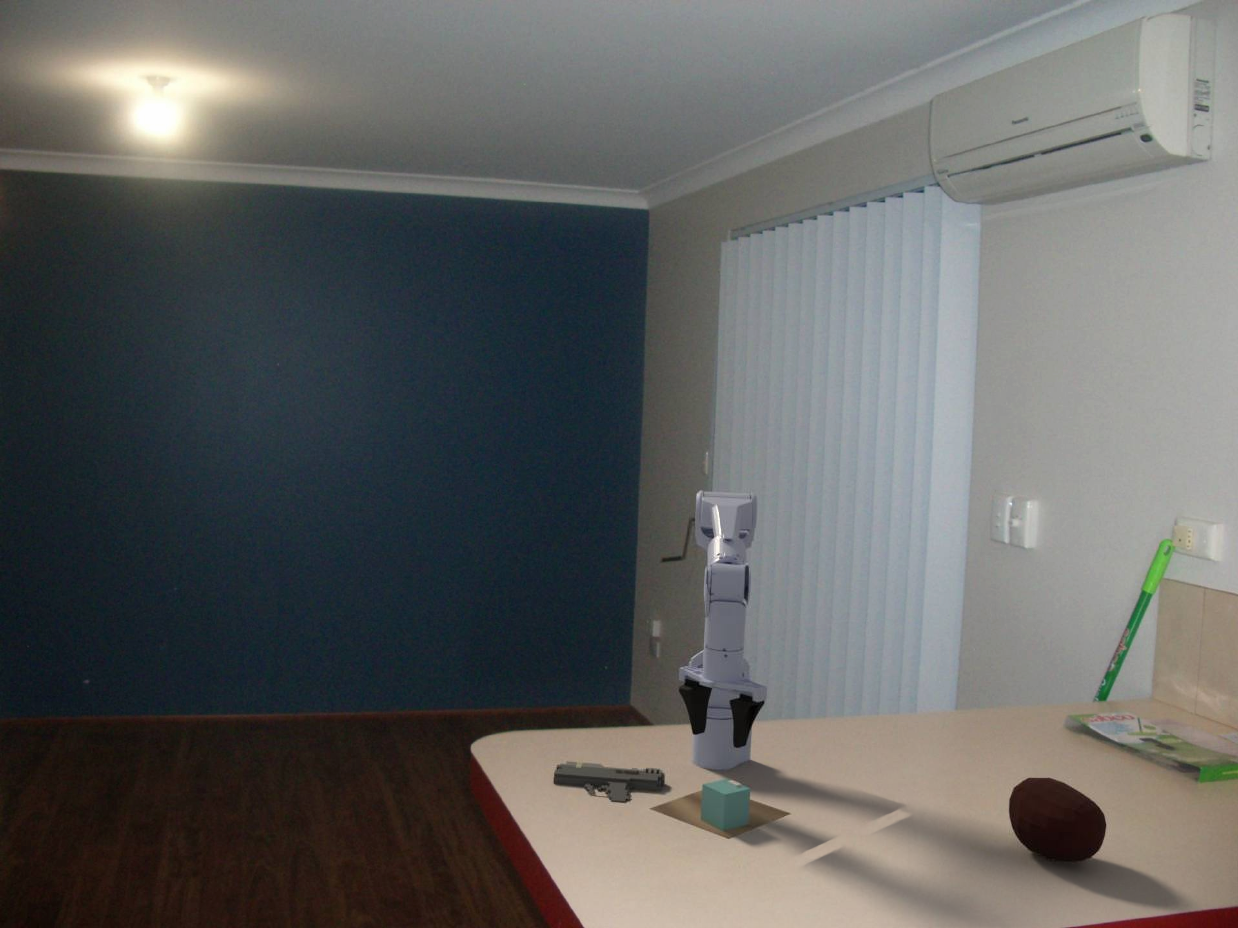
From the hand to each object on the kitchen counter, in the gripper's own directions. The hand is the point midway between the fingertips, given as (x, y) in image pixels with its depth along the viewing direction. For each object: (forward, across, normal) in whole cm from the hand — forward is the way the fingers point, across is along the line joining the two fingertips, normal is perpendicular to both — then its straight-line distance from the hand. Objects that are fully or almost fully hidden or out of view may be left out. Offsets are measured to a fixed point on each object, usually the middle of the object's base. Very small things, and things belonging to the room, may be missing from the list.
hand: (718, 739), depth 174 cm
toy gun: (+10, -12, -10) cm, 19 cm away
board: (+9, +4, -4) cm, 11 cm away
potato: (+10, +42, +19) cm, 47 cm away
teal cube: (+8, +7, -7) cm, 13 cm away
